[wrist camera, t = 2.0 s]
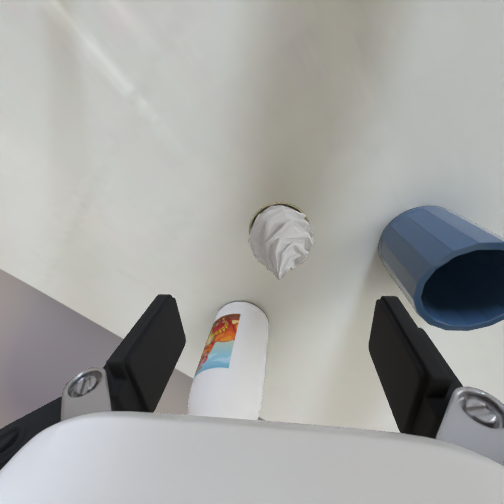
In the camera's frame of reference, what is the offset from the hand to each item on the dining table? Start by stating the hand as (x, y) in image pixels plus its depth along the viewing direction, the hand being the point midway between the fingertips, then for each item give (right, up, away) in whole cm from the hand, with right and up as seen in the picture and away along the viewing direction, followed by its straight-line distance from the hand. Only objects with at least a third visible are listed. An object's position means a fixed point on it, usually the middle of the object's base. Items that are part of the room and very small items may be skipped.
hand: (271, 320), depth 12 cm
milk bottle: (-2, -7, +24) cm, 25 cm away
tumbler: (+18, +4, +16) cm, 24 cm away
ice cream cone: (+2, +9, +16) cm, 18 cm away
